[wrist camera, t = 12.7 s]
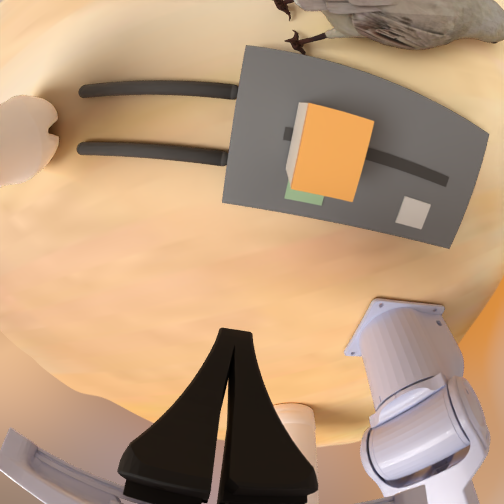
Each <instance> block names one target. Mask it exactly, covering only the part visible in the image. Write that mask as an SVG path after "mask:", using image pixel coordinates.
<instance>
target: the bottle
mask: <svg viewBox="0 0 504 504" xmlns="http://www.w3.org/2000/svg"><path fill="white" fill-rule="evenodd" d="M273 406H274V408H275V411H276V413H277V414H278V416H279V418H280V420H281V422H282V424H283V425H284V427H285V429H286V430H287V432H288V433H289V435H290V437H291V438H292V440H293V441H294V443H295V444H296V446H297V447H298V448H299V450H300V451H301V453H302V454H303V455H304V456H305V458H306V459H307V460H308V461H309V463H310V464H311V465H312V466H313V468H314V470H315V473H316V477H317V481H318V471H317V453H316V437H315V430H316V426H315V419H314V412H313V409H311V408H310V407H308V406H306V405H303V404H297V403H284V404H278V405H273ZM318 496H319V495H318V490H317V491H316V492H315V493H312V494H310V495H307V503H305V504H319V497H318Z"/></svg>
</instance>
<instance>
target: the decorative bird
mask: <svg viewBox="0 0 504 504" xmlns="http://www.w3.org/2000/svg"><path fill="white" fill-rule="evenodd" d="M274 2H275V5H276V6H277V8H278V9H279V10H282V11H284V12H285V13H286V14H288V15H289V21H290V19H291V15H290V12H289V10H288V5H287V4H288V3H292V2H295V3H296V4H297V5H298V6H299V7H301V8H302V9H303V10H305V11H321V12H322V13H323V14H324V15H325V16H326V18H327V19H328V21H329V22H330V23H331V25H332V26H333V27H334V28H333V29H331V30H328V31H326V32H325V33H322V34H320V35H317V36H314V37H311V38H306V39H302V40H298V39H299V35H298V33H297V32H296V31H294V30H293V31H294V32H295V35H294V37H293V38H291V39H288V40H285V42H290V43H291V45H292V47H293V49H295V50H297V51H300V52H301V53H302V54H303V55H305V51H304V49H303V48H302V47H303V44H305V43H309V42H313V41H318V40H322V39H325V38H343V37H367V38H370V39H372V40H374V41H377V42H379V43H382V44H385V45H389V46H393V47H397V48H402V49H409V50H423V49H430V48H433V47H437V46H440V45H445V44H448V43H450V42H451V41H453V40H456V39H460V38H476V39H478V40H481V41H484V42H491V43H497V42H499V41H502V40H504V10H503V9H502V8H501V7H500V6H499V5H498V4H497V3H496V2H495V1H494V0H284V1H283V0H274Z"/></svg>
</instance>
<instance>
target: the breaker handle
mask: <svg viewBox="0 0 504 504" xmlns="http://www.w3.org/2000/svg"><path fill="white" fill-rule="evenodd" d="M373 125H374V121H372V120H369V119H366V118H363V117H360V116H356V115H353V114H350V113H346V112H343V111H339V110H336V109H332V108H328V107H324V106H320V105H316V104H312V103H301V102H299V104H298V109H297V114H296V119H295V124H294V129H293V134H292V139H291V144H290V149H289V154H288V159H287V164H286V171H287V175H288V179H289V183H290V187H291V189H293V190H298V191H303V192H308V193H313V194H318V195H322V196H327V197H332V198H336V199H341V200H345V201H349V202H353V199H354V196H355V193H356V189H357V186H358V182H359V179H360V175H361V172H362V168H363V165H364V161H365V157H366V153H367V150H368V146H369V142H370V138H371V134H372V130H373Z"/></svg>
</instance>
